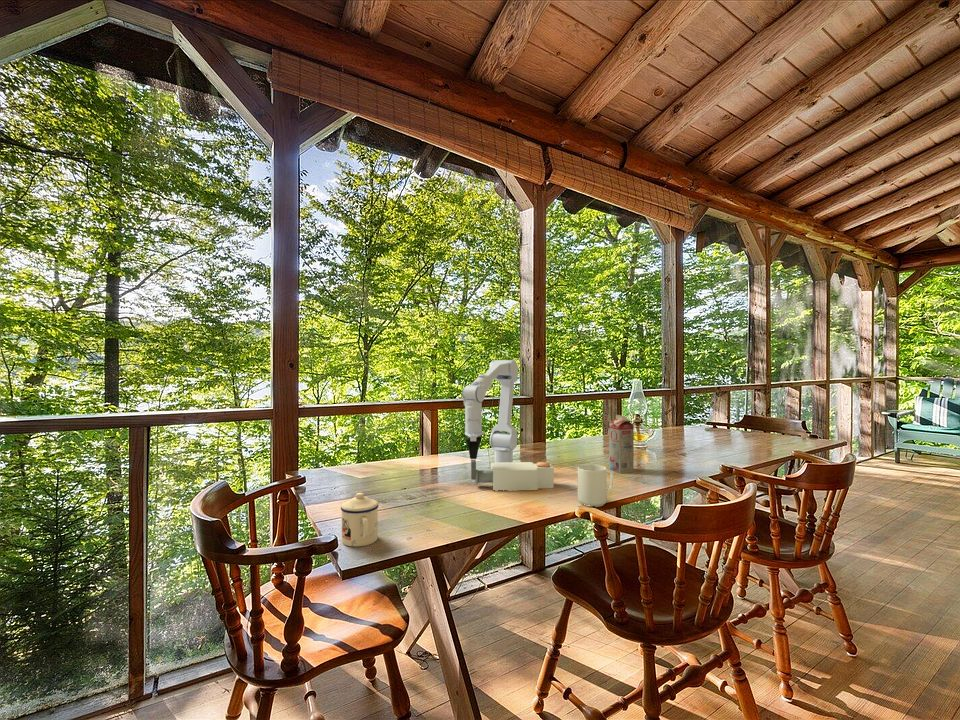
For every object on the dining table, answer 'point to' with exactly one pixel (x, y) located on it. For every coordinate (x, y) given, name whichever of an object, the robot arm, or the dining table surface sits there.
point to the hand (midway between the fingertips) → (473, 458)
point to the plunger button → (543, 464)
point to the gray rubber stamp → (480, 474)
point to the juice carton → (621, 445)
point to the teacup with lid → (359, 521)
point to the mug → (593, 484)
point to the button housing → (521, 476)
